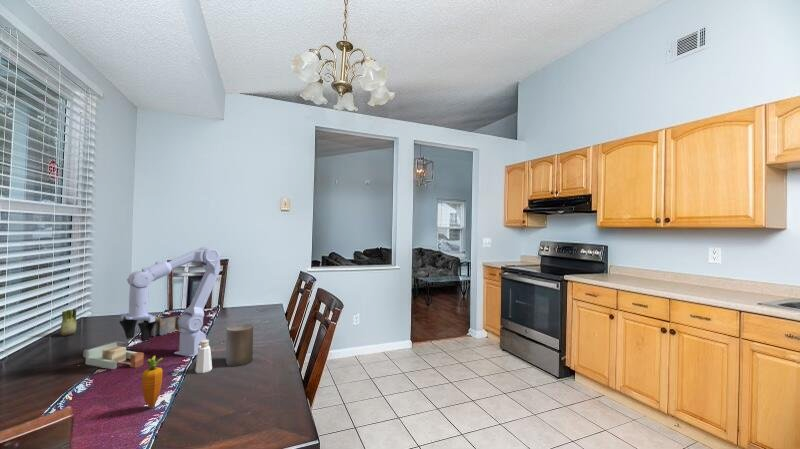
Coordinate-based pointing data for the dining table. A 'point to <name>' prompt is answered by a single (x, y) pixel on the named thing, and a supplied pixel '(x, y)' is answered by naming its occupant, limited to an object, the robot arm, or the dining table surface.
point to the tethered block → (123, 356)
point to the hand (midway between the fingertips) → (137, 339)
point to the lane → (96, 357)
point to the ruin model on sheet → (165, 325)
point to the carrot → (152, 382)
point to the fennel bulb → (68, 322)
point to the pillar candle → (239, 344)
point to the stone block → (106, 344)
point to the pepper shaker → (204, 357)
